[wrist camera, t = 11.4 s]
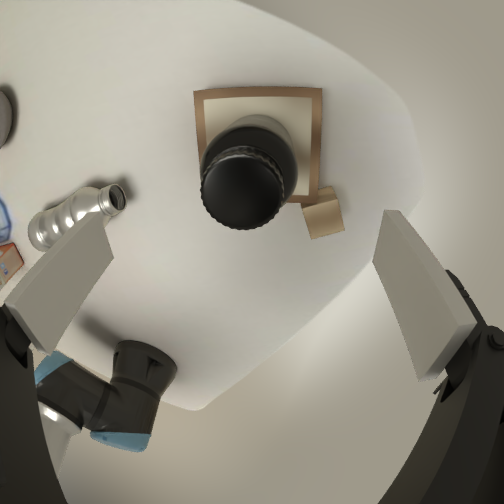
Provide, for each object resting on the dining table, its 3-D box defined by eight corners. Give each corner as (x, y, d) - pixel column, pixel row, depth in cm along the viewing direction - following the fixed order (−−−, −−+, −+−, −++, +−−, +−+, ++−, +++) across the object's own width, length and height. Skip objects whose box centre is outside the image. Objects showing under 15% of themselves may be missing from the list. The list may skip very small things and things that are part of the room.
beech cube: (338, 214, 33) (344, 230, 30) (307, 222, 34) (311, 239, 31) (330, 185, 31) (337, 198, 28) (299, 194, 32) (301, 208, 29)
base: (312, 189, 31) (317, 204, 28) (211, 188, 32) (203, 203, 29) (315, 88, 24) (322, 88, 21) (203, 90, 25) (192, 91, 22)
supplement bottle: (283, 105, 22) (290, 121, 12) (299, 172, 26) (314, 235, 16) (212, 124, 24) (166, 155, 14) (232, 187, 27) (207, 255, 17)
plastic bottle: (36, 208, 35) (114, 162, 30) (58, 236, 39) (139, 202, 34) (17, 234, 30) (91, 190, 25) (41, 263, 35) (122, 234, 30)
